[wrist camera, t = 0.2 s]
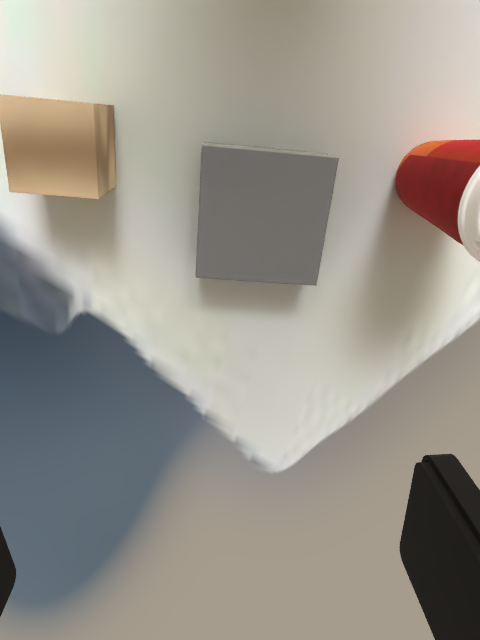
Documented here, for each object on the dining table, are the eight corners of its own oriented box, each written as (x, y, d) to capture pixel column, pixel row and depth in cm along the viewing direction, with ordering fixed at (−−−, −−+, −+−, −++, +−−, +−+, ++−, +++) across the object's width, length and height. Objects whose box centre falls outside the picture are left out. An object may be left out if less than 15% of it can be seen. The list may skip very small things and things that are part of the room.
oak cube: (33, 97, 33) (-4, 94, 27) (113, 105, 33) (93, 103, 28) (41, 179, 35) (9, 191, 30) (116, 186, 36) (98, 199, 30)
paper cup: (421, 239, 39) (520, 299, 26) (363, 183, 36) (441, 219, 24) (492, 168, 36) (639, 197, 24) (435, 103, 34) (565, 97, 21)
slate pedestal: (203, 142, 34) (201, 145, 31) (326, 153, 35) (338, 158, 32) (197, 262, 39) (195, 277, 35) (307, 269, 39) (316, 285, 36)
